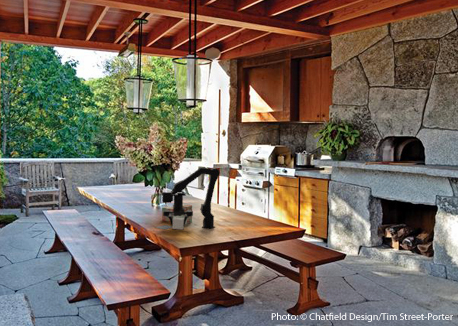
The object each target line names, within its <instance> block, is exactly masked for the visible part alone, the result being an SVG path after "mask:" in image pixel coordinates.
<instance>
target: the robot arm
mask: <svg viewBox="0 0 458 326" xmlns="http://www.w3.org/2000/svg"><path fill="white" fill-rule="evenodd" d="M220 173H221V172H220V170H219V168H216V167H211V168H209V167H199V168H198V169H197V170H195V171H194V172H192V173H191V174H190V175H188V176H187V177H186V178H184V179H182V180H179V181H178V182H175V183H174V185H173V189H172V190H171V191H167V192H166V191H162V198H161V199H162V200H161V201H162V204H167V203H169V204H171V203H172V202H173V205H174V209H173V212H170V210H165V211H164V212H163V216H167V217H168V218H169V219H170V221H169V222H170V224H171V226H173V218H172V215H174V216H181V215H185V217H184V226H186V225H185V222H186V220H187V218H188V217H189V216H192V217H193V215H194V211H193V209H192V210H187V212H185V209H184V208H183V204H184V201H183V200H184V197H186V196H187V195H186V193H185V192H184V190H185V189H186V188H187V186H188V185H189V184H191V183H192V182H194V181H195V180H196V179H197V178H199V177H200V176H202V175H208V178H209V179H208V185H207V188H206V194H205V197H204V198H205V199H204V202H203V203H201V204H200V208H199V211H200V213H201V215H202V216H203V220H202V226H201V228H202V229H209V230H210V229H214V228H216V225H215V224H214V223H215V220H214V219H215V218H214V217H215V216H214V215H213V213H212V199H213V196H214V195H213V194H214V191H215V187H216V182H217V181H218V179H219V177H220ZM214 225H215V226H214Z"/></svg>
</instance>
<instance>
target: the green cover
mask: <svg viewBox="0 0 458 326" xmlns="http://www.w3.org/2000/svg"><path fill="white" fill-rule="evenodd" d="M174 217H177V218H184V217H185V215H181V216H173V218H174ZM186 225H188V224H187V220H186V222H185V225H184V226H186Z"/></svg>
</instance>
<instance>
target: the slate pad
mask: <svg viewBox="0 0 458 326" xmlns="http://www.w3.org/2000/svg"><path fill="white" fill-rule="evenodd" d="M154 228H156V229H161V230H165V231H166V230H170V229H172V225H168V224H163V225H158V226H154Z"/></svg>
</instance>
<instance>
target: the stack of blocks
mask: <svg viewBox="0 0 458 326" xmlns="http://www.w3.org/2000/svg"><path fill="white" fill-rule="evenodd" d="M183 208H184V209H185V212H187V210H192V211H193V205H191V204H187V203H186V204H184V203H183ZM173 209H174V204H172V206H169V205H167V206H164V207H162V208H161V213H162V214H161V215H162V217H161V220H162V221H165V222H171V221H170V219H169V218H168V217H167V216H163V212H164V211H165V210H170V212H173ZM173 216H174V215H172V218H173ZM191 223H193V216H189V217H188V218H187V224H186V225H188V224H191Z"/></svg>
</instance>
